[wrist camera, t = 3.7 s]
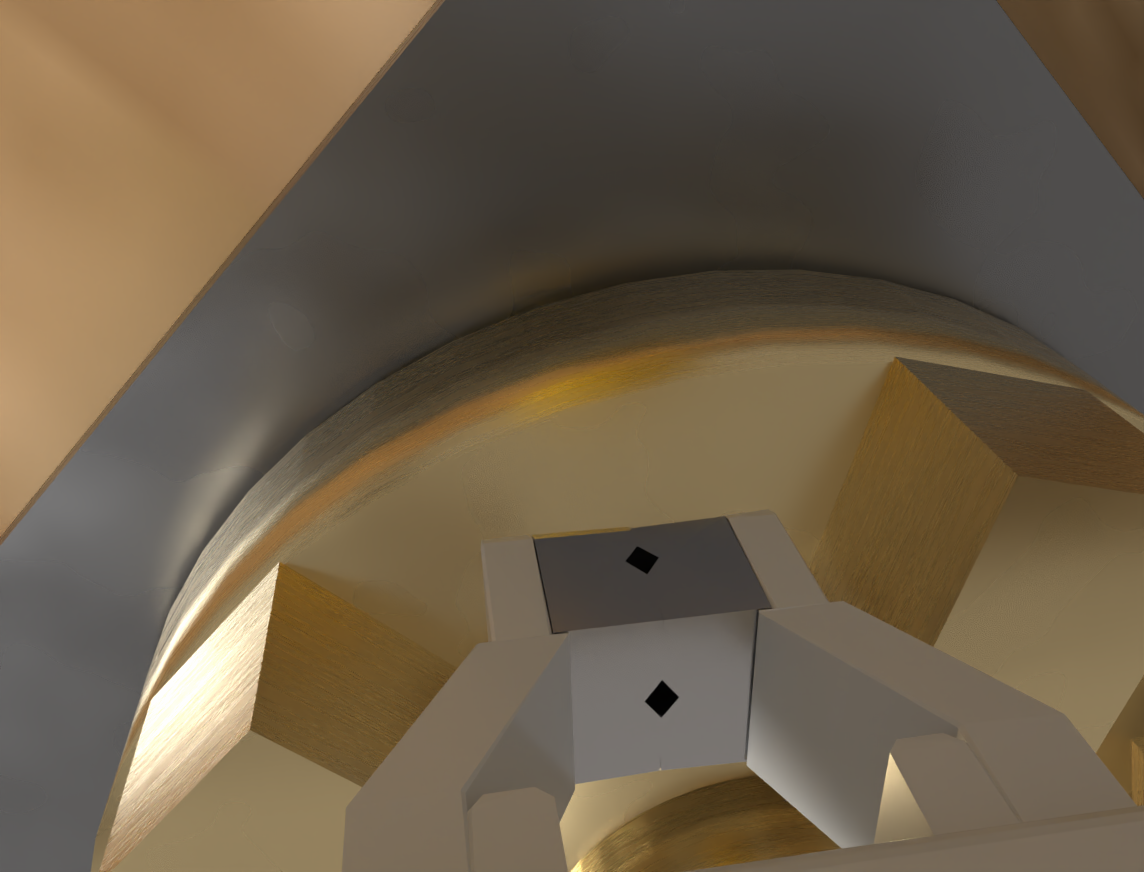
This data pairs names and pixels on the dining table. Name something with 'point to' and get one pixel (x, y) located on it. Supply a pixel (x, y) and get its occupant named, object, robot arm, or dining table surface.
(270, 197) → the dining table surface
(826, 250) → the base plate
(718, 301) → the gold radial fin assembly
